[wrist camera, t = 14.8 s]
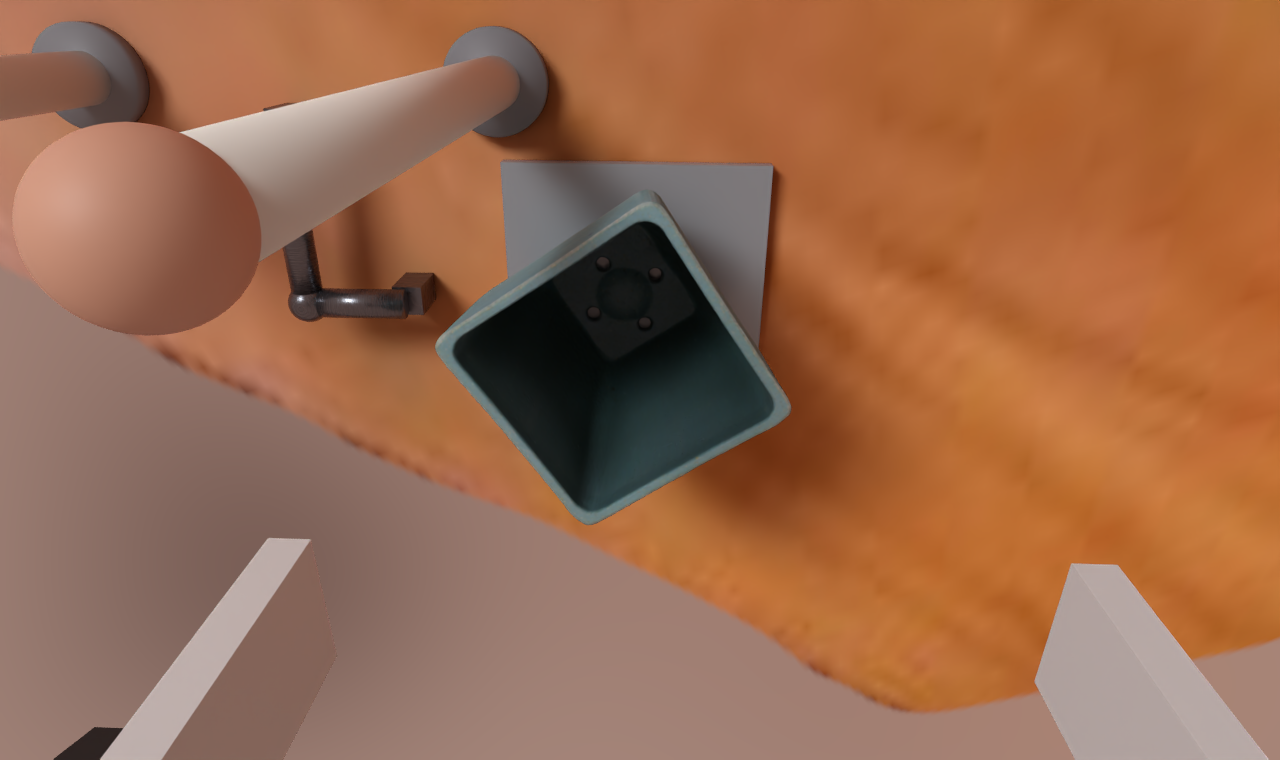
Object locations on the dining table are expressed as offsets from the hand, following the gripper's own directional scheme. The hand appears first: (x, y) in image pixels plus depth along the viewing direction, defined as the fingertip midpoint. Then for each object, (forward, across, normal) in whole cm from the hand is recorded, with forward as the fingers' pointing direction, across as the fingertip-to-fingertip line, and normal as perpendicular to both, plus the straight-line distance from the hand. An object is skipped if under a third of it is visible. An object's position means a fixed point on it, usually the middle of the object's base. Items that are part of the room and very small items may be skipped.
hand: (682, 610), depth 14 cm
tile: (+22, -2, -2) cm, 22 cm away
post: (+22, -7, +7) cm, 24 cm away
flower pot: (+21, -2, -2) cm, 22 cm away
